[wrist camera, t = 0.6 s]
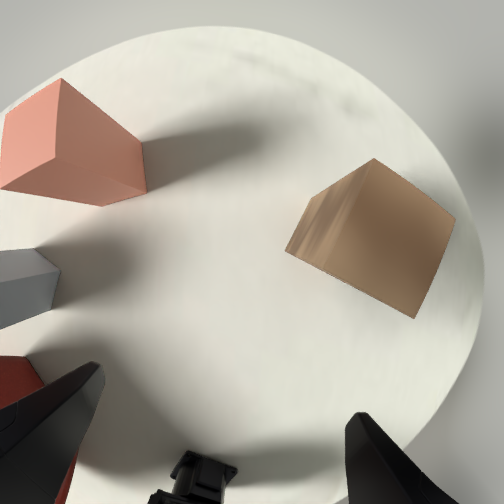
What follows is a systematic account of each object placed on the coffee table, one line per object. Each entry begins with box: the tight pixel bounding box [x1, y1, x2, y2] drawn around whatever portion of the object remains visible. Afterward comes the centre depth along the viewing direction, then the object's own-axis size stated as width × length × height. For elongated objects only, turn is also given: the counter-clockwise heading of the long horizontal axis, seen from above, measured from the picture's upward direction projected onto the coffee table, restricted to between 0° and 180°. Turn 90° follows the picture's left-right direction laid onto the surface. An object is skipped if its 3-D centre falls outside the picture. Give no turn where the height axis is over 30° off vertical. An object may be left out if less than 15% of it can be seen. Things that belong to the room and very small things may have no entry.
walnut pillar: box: [285, 158, 456, 319], centre depth 17 cm, size 5×5×13 cm
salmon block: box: [0, 78, 147, 207], centre depth 16 cm, size 5×5×13 cm
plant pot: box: [0, 356, 79, 504], centre depth 16 cm, size 19×19×17 cm
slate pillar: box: [0, 248, 61, 330], centre depth 17 cm, size 5×5×13 cm
